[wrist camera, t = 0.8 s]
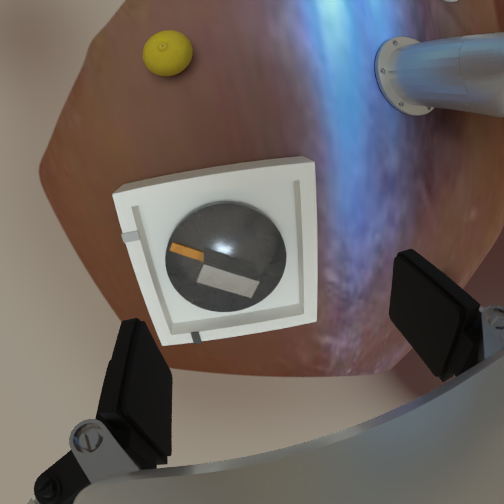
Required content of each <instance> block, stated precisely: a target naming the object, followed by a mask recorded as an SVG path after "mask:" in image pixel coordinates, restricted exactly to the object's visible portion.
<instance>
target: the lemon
mask: <svg viewBox="0 0 504 504" xmlns="http://www.w3.org/2000/svg"><path fill="white" fill-rule="evenodd" d="M192 55H193V48H192V45H191V42H190V41H189V39H188V38H187V37H186V36H185V35H183V34H182V33H180V32H177V31H172V30H166V31H161V32H158V33H156V34H155V35H153V36H152V37H151V38H150V39H149V40H148V41H147V42H146V44H145V46H144V49H143V61H144V63H145V65H146V67H147V68H148V69H149V70H150V71H151V72H153V73H154V74H156V75H160V76H172V75H175V74H178V73H180V72H181V71H183V70H184V69H185V68H186V67H187V66H188V65H189V63H190V61H191V59H192Z"/></svg>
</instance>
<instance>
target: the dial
mask: <svg viewBox="0 0 504 504" xmlns="http://www.w3.org/2000/svg"><path fill="white" fill-rule="evenodd" d="M165 266H166V271H167V274H168V277H169V280H170V282H171V283H172V285H173V287H174V288H175V289H176V291H177V292H178V293H179V294H180V295H181V296H182V297H183V298H184V299H186V300H187V301H188V302H190V303H192V304H193V305H195V306H197V307H200V308H202V309H205V310H210V311H215V312H233V311H239V310H243V309H246V308H249V307H251V306H253V305H256V304H257V303H259V302H261V301H262V300H263V299H265V298H266V297H267V296H268V295H269V294H271V293H272V292H273V290H274V289H275V288H276V287H277V285H278V284H279V282H280V280H281V278H282V276H283V273H284V270H285V266H286V247H285V244H284V240H283V238H282V236H281V234H280V232H279V230H278V228H277V227H276V225H275V224H274V222H273V221H272V220H271V219H270V218H269V217H268V216H267V215H266V214H264V213H263V212H262V211H260V210H258V209H257V208H255V207H253V206H250V205H248V204H244V203H241V202H235V201H218V202H213V203H208V204H205V205H203V206H200V207H198V208H196V209H194V210H193V211H191V212H190V213H188V214H187V215H186V216H185V217H184V218H182V219H181V220H180V222H179V223H178V224H177V225H176V227H175V228H174V230H173V232H172V234H171V236H170V238H169V241H168V245H167V249H166V255H165Z"/></svg>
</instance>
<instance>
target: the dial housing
mask: <svg viewBox="0 0 504 504" xmlns="http://www.w3.org/2000/svg"><path fill="white" fill-rule="evenodd" d="M112 195H113V199H114V203H115V207H116V211H117V214H118V218H119V222H120V225H121V229H122V232H123V233H122V234H121V235H122V238H123V241H124V243H126V246H127V249H128V252H129V256H130V259H131V262H132V265H133V268H134V271H135V274H136V277H137V280H138V283H139V286H140V289H141V292H142V294H143V297H144V300H145V303H146V305H147V308H148V311H149V313H150V316H151V319H152V321H153V324H154V326H155V329H156V331H157V334H158V336H159V339H160V341H161V344H162V346H166V345H175V344H183V343H192V342H194V344H198V343H202V341H207V340H214V339H221V338H228V337H235V336H241V335H247V334H253V333H259V332H265V331H270V330H276V329H281V328H287V327H292V326H297V325H302V324H307V323H312V322H316V321H317V204H316V179H315V162H314V161H312V160H310V159H308V158H306V157H304V156H297V157H287V158H277V159H268V160H260V161H252V162H244V163H237V164H230V165H223V166H216V167H210V168H204V169H198V170H192V171H186V172H181V173H175V174H170V175H165V176H160V177H155V178H150V179H145V180H141V181H136V182H132V183H127V184H123V185H122V186H121V187H120V188H119V189H117V190H116V191H115V192H114V193H113V194H112ZM218 201H235V202H241V203H244V204H248V205H250V206H253V207H255V208H257V209H258V210H260V211H262V212H263V213H264V214H266V215H267V216H268V217H269V218H270V219H271V220H272V221H273V222H274V224H275V225H276V227H277V228H278V230H279V232H280V234H281V236H282V238H283V240H284V244H285V247H286V266H285V270H284V273H283V276H282V278H281V280H280V282H279V284H278V285H277V287H276V288H275V289H274V290H273V292H272V293H271V294H269V295H268V296H267V297H266V298H265V299H263V300H262V301H261V302H259V303H257V304H256V305H253V306H251V307H249V308H246V309H243V310H239V311H233V312H215V311H210V310H205V309H202V308H200V307H197V306H195V305H193V304H192V303H190V302H188V301H187V300H186V299H184V298H183V297H182V296H181V295H180V294H179V293H178V292H177V291H176V289H175V288H174V287H173V285H172V283H171V282H170V280H169V277H168V274H167V271H166V266H165V255H166V249H167V245H168V241H169V238H170V236H171V234H172V232H173V230H174V228H175V227H176V225H177V224H178V223H179V222H180V220H181V219H182V218H184V217H185V216H186V215H187V214H188V213H190V212H191V211H193V210H194V209H196V208H198V207H200V206H203V205H205V204H208V203H213V202H218Z"/></svg>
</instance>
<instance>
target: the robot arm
mask: <svg viewBox="0 0 504 504" xmlns="http://www.w3.org/2000/svg"><path fill="white" fill-rule="evenodd" d="M375 74H376V78H377V82H378V84H379V87H380V89H381V91H382V93H383V95H384V96H385V98H386V99H387V100H388V102H389V103H390V104H391V105H392V106H393V107H395V108H396V109H397V110H399V111H400V112H403V113H405V114H409V115H416V116H420V115H425V114H427V113H429V112H430V111H432V110H433V109H434V108H444V109H452V110H459V111H465V112H472V113H478V114H483V115H489V116H494V117H504V32H499V33H489V34H477V35H468V36H458V37H451V38H444V39H437V40H431V41H426V42H419V41H417V40H415V39H412V38H410V37H404V36H400V37H394V38H391V39H389V40H387V41H386V42H384V43H383V44H382V45H381V47H380V48H379V50H378V52H377V55H376V60H375ZM479 308H480V304H479V303H478V302H477V301H476V300H475V299H473V298H472V297H471V296H470V295H469V294H468V293H466V292H465V291H464V290H463V289H462V288H461V287H459V286H458V285H457V284H456V283H455V282H453V281H452V280H451V279H450V278H449V277H447V276H446V275H445V274H444V273H442V272H441V271H440V270H439V269H438V268H436V267H435V266H434V265H432V264H431V263H430V262H429V261H427V260H426V259H425V258H424V257H422V256H421V255H420V254H418V253H417V252H416V251H414V250H413V249H408V250H405V251H402V252H399V253H398V254H397V257H395V259H394V265H393V278H392V289H391V299H390V308H389V316H390V319H391V321H392V322H393V323H394V324H395V326H396V327H397V328H398V329H399V331H400V332H401V333H402V334H403V336H404V337H405V338H406V339H407V341H408V342H409V343H410V344H411V346H412V347H413V348H414V350H415V351H416V352H417V353H418V355H419V356H420V357H421V358H422V360H423V361H424V363H425V364H426V365H427V366H428V368H429V369H430V370H431V372H432V373H433V374H434V375H435V376H437V377H438V376H439V378H440V379H441V380H442V382H444V381H446V380H447V379H449V378H451V377H452V376H453V375H454V374H455V376H456V377H455V378H454V379H452V380H450V381H448V382H447V383H445V384H443V385H441V386H439V387H438V388H436V389H434V390H432V391H430V392H428V393H427V394H425V395H423V396H421V397H419V398H417V399H415V400H413V401H411V402H409V403H407V404H405V405H402V406H400V407H398V408H396V409H394V410H392V411H389V412H387V413H385V414H383V415H380V416H378V417H376V418H373V419H371V420H368V421H366V422H363V423H361V424H358V425H355V426H353V427H350V428H347V429H345V430H342V431H339V432H336V433H333V434H330V435H327V436H324V437H321V438H318V439H315V440H311V441H308V442H304V443H301V444H297V445H294V446H290V447H287V448H283V449H278V450H274V451H270V452H266V453H261V454H257V455H252V456H247V457H242V458H236V459H230V460H224V461H218V462H212V463H204V464H197V465H188V466H179V467H167V468H159V469H156V468H157V465H161V464H167V456H171V451H172V448H171V447H172V446H171V423H172V419H171V417H172V374H171V371H170V369H169V367H168V365H167V363H166V362H165V360H164V358H163V356H162V354H161V352H160V350H159V349H158V347H157V345H156V343H155V341H154V339H153V337H152V335H151V333H150V331H149V329H148V327H147V325H146V323H145V322H144V321H140V320H139V319H138V318H134V319H129V320H124V321H122V323H121V326H120V330H119V333H118V336H117V340H116V344H115V347H114V351H113V355H112V359H111V360H110V361H109V364H108V367H107V371H106V375H105V379H104V383H103V387H102V392H101V396H100V400H99V405H98V410H97V414H96V419H88V420H84V421H82V422H80V423H79V424H77V426H75V428H74V429H73V430H72V432H71V435H70V438H69V445H70V448H71V450H70V451H69V452H68V453H67V454H66V455H65V456H63V457H62V458H61V459H60V460H58V461H57V462H56V463H55V464H53V465H52V466H51V467H50V468H48V469H47V470H46V471H45V472H43V473H42V474H41V475H40V476H39V477H38V478H37V480H36V482H35V486H34V494H35V497H36V499H35V500H33V499H30V501H29V502H28V504H504V307H502V306H498V305H491V306H487V307H486V308H485V309H484V310H483V311H482V312H480V311H479Z"/></svg>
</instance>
